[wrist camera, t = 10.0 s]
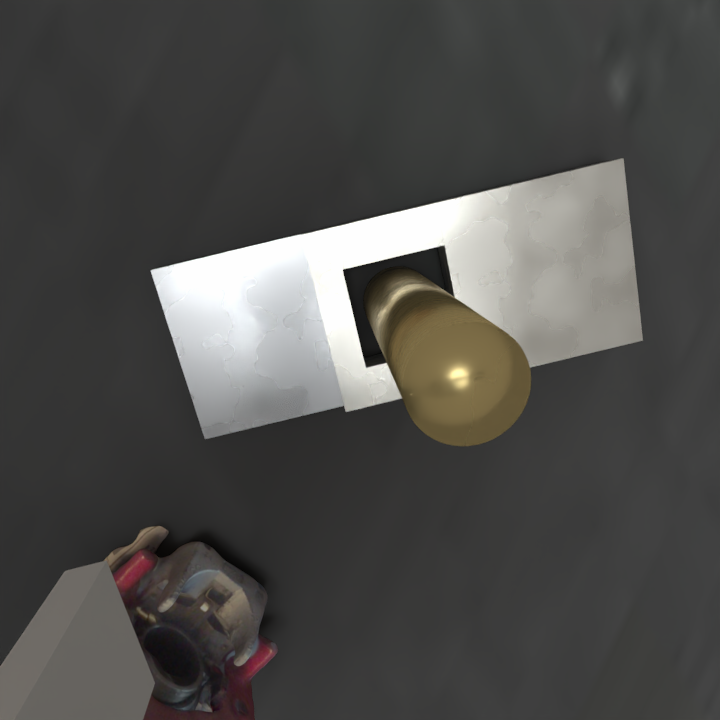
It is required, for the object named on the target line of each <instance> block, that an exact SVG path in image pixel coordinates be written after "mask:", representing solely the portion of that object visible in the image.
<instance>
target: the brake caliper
mask: <svg viewBox="0 0 720 720" xmlns="http://www.w3.org/2000/svg"><path fill="white" fill-rule="evenodd" d="M168 533H169V532H168V530H166V529H165V528H163V527H161V526H155V527H146V528H144V529H142V530H140V532H139V534H138V536H137V538H136V540H135V541H134V542H133V543H132V544H130V545H128V546H125V547H119V548H117V549H115V550H114V551H112V552H111V553H110V554H109V555H108V556H107V557H106V559H105V560H104V561H106V560H107V563H108V565H109V568H110V570H111V573H112V575H113V578H114V580H115V583H116V585H117V588H118V591H119V593H120V596H121V598H122V601H123V603H124V606H125V608H126V611H127V613H128V616H129V618H130V621H131V623H132V626H133V628H134V631H135V634H136V636H137V639H138V641H139V644H140V646H141V649H142V651H143V654H144V656H145V659H146V661H147V664H148V666H149V669H150V671H151V674H152V677H153V679H154V682H155V685H154V688H153V691H152V694H151V697H150V700H149V703H148V706H147V709H146V712H145V715H144V718H143V720H255V718H254V705H253V699H252V687H251V680H252V677H253V676H254V675H255V674H256V673H257V672H258V671H259V670H260V669H261V668H263V667H264V666H265V665H266V664H267V663H268V662H269V661H270V660H271V659H272V658H273V657H274V656H275V655H276V653H277V652H278V647H277V645H276V644H275V643H274V642H272V641H270V640H269V639H267V638H265V637H263V636H261V635H260V634H259V633H258V632H259V626H260V623H261V620H262V617H263V614H264V610H265V605H266V602H267V599H268V596H267V592H266V590H265V589H264V588H263V586H262V585H260V584H259V583H258V582H257V581H256V580H254V579H253V578H252V577H250V576H249V575H248V574H246V573H245V572H243V571H241V570H240V569H238V568H237V567H235V566H233V565H231V564H230V563H228V562H227V561H225V560H224V559H223V558H222V557H221V556H220V555H219V554H218V553H217V552H216V551H215V550H214V549H213V548H212V547H211V546H210V545H208V544H205V543H203V542H190V543H187V544H184V545H182V546H181V547H179V548H178V549H177V550H176V551H175V552H173V553H172V554H171V555H169V556H166V557H163V558H159V557H158V556H156V555H155V553H156V551H157V549H158V547H159V545H160V544H161V543H162V541H163V540H164V539H165V538H166V536H167V535H168Z"/></svg>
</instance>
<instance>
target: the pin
mask: <svg viewBox="0 0 720 720" xmlns="http://www.w3.org/2000/svg"><path fill="white" fill-rule="evenodd" d="M363 305H364V310H365V314H366V316H367V318H368V321H369V323H370V325H371V328H372V330H373V332H374V335H375V337H376V339H377V342H378V344H379V346H380V348H381V351H382V353H383V355H384V358H385V360H386V362H387V365H388V367H389V369H390V372H391V374H392V376H393V379H394V381H395V383H396V385H397V388H398V390H399V392H400V395H401V397H402V399H403V402H404V404H405V406H406V409H407V411H408V413H409V415H410V417H411V418H412V420H413V422H414V423H415V424H416V425H417V427H418V428H419V429H420V430H421V431H423V432H424V433H425V434H426V435H428V436H429V437H431V438H432V439H435V440H437V441H439V442H441V443H444V444H448V445H453V446H472V445H478V444H481V443H485V442H487V441H490V440H492V439H494V438H496V437H498V436H499V435H501V434H502V433H504V432H505V431H506V430H508V429H509V428H510V427H511V426H512V425H513V424H514V423H515V421H516V420H517V419H518V418H519V416H520V415H521V413H522V411H523V410H524V408H525V405H526V403H527V400H528V397H529V394H530V388H531V372H530V367H529V363H528V360H527V357H526V355H525V353H524V351H523V350H522V348H521V347H520V345H519V344H518V343H517V341H516V340H515V339H514V338H512V337H511V336H510V335H509V334H508V333H506V332H505V331H503V330H502V329H500V328H499V327H498V326H496V325H495V324H493V323H492V322H490V321H489V320H487V319H486V318H484V317H483V316H481V315H480V314H478V313H477V312H475V311H474V310H473V309H471V308H470V307H468V306H467V305H465V304H464V303H462V302H461V301H459V300H458V299H456V298H455V297H453V296H452V295H450V294H449V293H448V292H446V291H445V290H443V289H442V288H440V287H439V286H437V285H436V284H434V283H433V282H431V281H430V280H428V279H427V278H426V277H424V276H423V275H421V274H420V273H418V272H417V271H415V270H413V269H410V268H407V267H401V266H396V267H390V268H387V269H384V270H382V271H381V272H379V273H378V274H376V275H375V276H374V277H373V278H372V279H371V281H370V282H369V283H368V285H367V287H366V290H365V293H364V299H363Z"/></svg>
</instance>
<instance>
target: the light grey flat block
mask: <svg viewBox="0 0 720 720" xmlns="http://www.w3.org/2000/svg"><path fill="white" fill-rule="evenodd" d="M301 236H302V240H303V244H304V248H305V252H306V256H307V260H308V264H309V268H310V272H311V276H312V280H313V284H314V288H315V292H316V296H317V300H318V304H319V308H320V311H321V315H322V319H323V323H324V327H325V331H326V335H327V339H328V343H329V347H330V351H331V355H332V359H333V363H334V367H335V371H336V375H337V379H338V383H339V387H340V391H341V395H342V399H343V403H344V407H345V411H346V412H348V411H352V410H356V409H360V408H364V407H369V406H373V405H377V404H381V403H385V402H389V401H394V400H398V399H402V397H401V395H400V392H399V390H398V388H397V385H396V383H395V381H394V379H393V376H392V374H391V372H390V369H389V367H388V365H387V362H386V360H385V358H383V359H379V360H374V361H370V362H366V363H365V362H364V358H363V354H362V350H361V346H360V341H359V337H358V333H357V329H356V324H355V320H354V316H353V312H352V308H351V303H350V299H349V295H348V291H347V286H346V282H345V278H344V274H343V269H347V268H352V267H356V266H360V265H364V264H368V263H372V262H377V261H381V260H385V259H389V258H393V257H398V256H402V255H406V254H410V253H414V252H418V251H423V250H427V249H431V248H435V247H439V246H441V249H442V254H443V259H444V265H445V270H446V275H447V280H448V285H449V291H450V295H452V296H453V297H455V298H456V299H458V300H459V301H461V302H462V303H464V304H465V305H467V306H468V307H470V308H471V309H473V310H474V311H475V312H477V313H478V314H480V315H481V316H483V317H484V318H486V319H487V320H489V321H490V322H492V323H493V324H495V325H496V326H498V327H499V328H500V329H502V330H503V331H505V332H506V333H508V334H509V335H510V336H511V337H512V338H514V339H515V340H516V341H517V343H518V344H519V345H520V347H521V348H522V350H523V351H524V353H525V355H526V357H527V360H528V363H529V367H535V366H539V365H543V364H547V363H551V362H555V361H560V360H564V359H568V358H572V357H576V356H580V355H584V354H589V353H593V352H597V351H601V350H605V349H609V348H613V347H618V346H622V345H626V344H630V343H634V342H638V341H642V340H643V337H642V328H641V318H640V309H639V300H638V290H637V281H636V271H635V262H634V253H633V243H632V234H631V225H630V215H629V206H628V197H627V187H626V178H625V169H624V159H623V158H622V159H615V160H608V161H602V162H598V163H594V164H590V165H586V166H582V167H577V168H573V169H569V170H565V171H561V172H556V173H552V174H548V175H544V176H540V177H536V178H531V179H527V180H523V181H519V182H515V183H510V184H506V185H502V186H498V187H494V188H489V189H485V190H481V191H477V192H473V193H469V194H464V195H462V196H460V197H455V198H451V199H447V200H443V201H439V202H434V203H430V204H426V205H422V206H418V207H414V208H409V209H405V210H401V211H397V212H393V213H388V214H384V215H380V216H376V217H372V218H367V219H363V220H359V221H355V222H351V223H347V224H342V225H338V226H334V227H330V228H326V229H321V230H317V231H313V232H309V233H305V234H302V235H301Z"/></svg>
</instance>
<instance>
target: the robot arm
mask: <svg viewBox="0 0 720 720" xmlns="http://www.w3.org/2000/svg"><path fill="white" fill-rule="evenodd" d="M154 685H155V682H154V679H153V677H152V674H151V671H150V669H149V666H148V664H147V661H146V659H145V656H144V654H143V651H142V649H141V646H140V644H139V641H138V639H137V636H136V634H135V631H134V628H133V626H132V623H131V621H130V618H129V616H128V613H127V611H126V608H125V606H124V603H123V601H122V598H121V596H120V593H119V591H118V588H117V585H116V583H115V580H114V578H113V575H112V573H111V570H110V568H109V565H108V563H107V560H106V561H102V562H98V563H94V564H90V565H86V566H82V567H78V568H74V569H71V570H67V571H65V572H64V573H63V574H62V576H61V577H60V579H59V580H58V582H57V583H56V585H55V586H54V588H53V589H52V591H51V592H50V594H49V595H48V597H47V598H46V600H45V601H44V603H43V604H42V605H41V607H40V608H39V610H38V611H37V613H36V614H35V616H34V617H33V619H32V620H31V622H30V623H29V625H28V626H27V628H26V629H25V631H24V632H23V634H22V635H21V636H20V638H19V639H18V641H17V642H16V644H15V645H14V647H13V648H12V650H11V651H10V653H9V654H8V656H7V657H6V659H5V660H4V662H3V663H2V665H1V666H0V720H143V718H144V715H145V712H146V709H147V706H148V703H149V700H150V697H151V694H152V691H153V688H154Z"/></svg>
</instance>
